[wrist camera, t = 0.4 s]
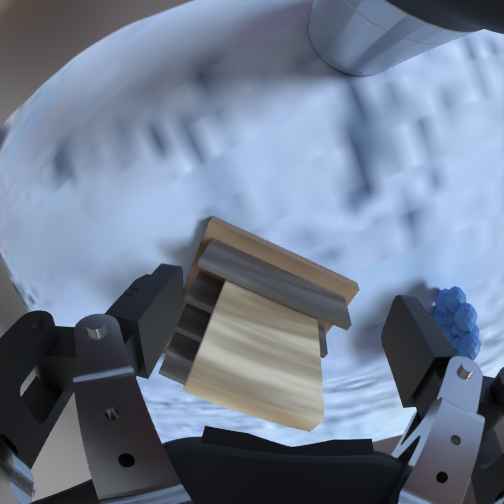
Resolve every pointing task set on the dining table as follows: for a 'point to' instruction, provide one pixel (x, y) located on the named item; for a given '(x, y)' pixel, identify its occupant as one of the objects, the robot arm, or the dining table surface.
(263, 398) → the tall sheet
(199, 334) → the rack
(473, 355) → the grapes
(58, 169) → the dining table surface
